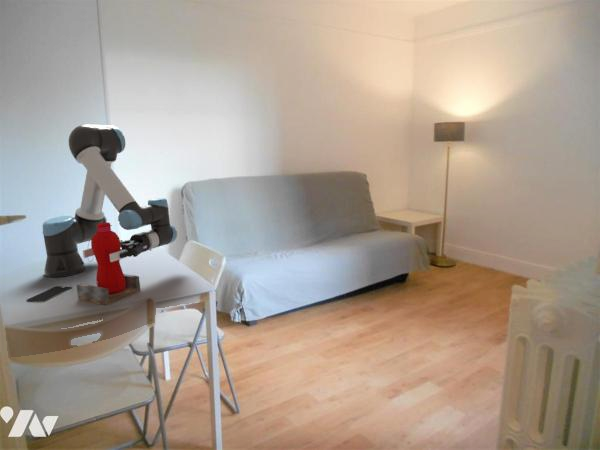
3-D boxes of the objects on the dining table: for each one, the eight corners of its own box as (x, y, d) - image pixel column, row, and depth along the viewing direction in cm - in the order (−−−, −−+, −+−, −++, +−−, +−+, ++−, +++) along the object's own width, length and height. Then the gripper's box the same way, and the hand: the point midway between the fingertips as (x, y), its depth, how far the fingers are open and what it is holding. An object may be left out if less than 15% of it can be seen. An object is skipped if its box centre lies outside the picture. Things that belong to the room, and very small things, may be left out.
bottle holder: (78, 299, 145) (76, 284, 144) (113, 285, 158) (112, 272, 157) (106, 305, 139) (104, 290, 138) (140, 290, 152) (138, 276, 151)
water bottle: (92, 290, 149) (82, 223, 144) (124, 284, 155) (116, 219, 149) (93, 298, 141) (83, 227, 136) (127, 291, 147) (118, 223, 141)
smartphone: (73, 286, 157) (43, 301, 143) (74, 288, 157) (43, 303, 143) (56, 285, 159) (24, 300, 144) (56, 287, 159) (24, 302, 144)
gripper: (169, 254, 156) (123, 270, 138) (122, 248, 167) (74, 262, 148) (167, 234, 155) (121, 249, 136) (120, 230, 165) (71, 242, 147)
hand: (96, 256), depth 142 cm, fingers open, 13 cm apart
